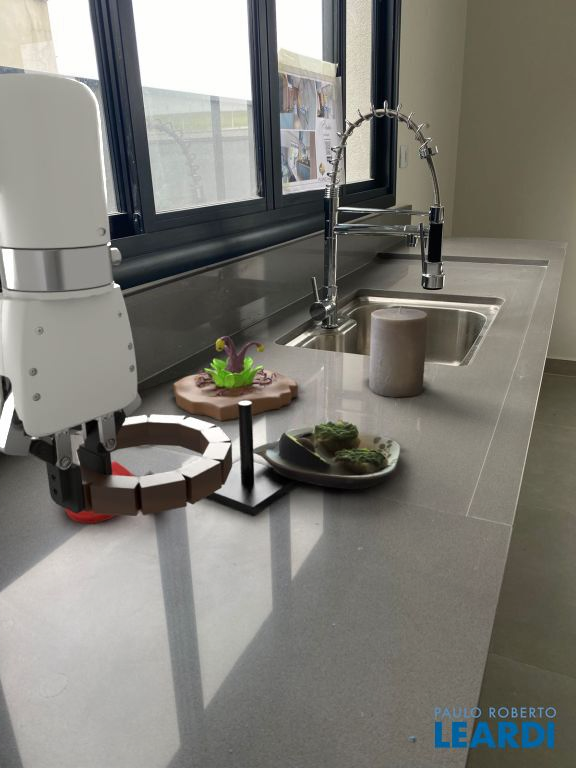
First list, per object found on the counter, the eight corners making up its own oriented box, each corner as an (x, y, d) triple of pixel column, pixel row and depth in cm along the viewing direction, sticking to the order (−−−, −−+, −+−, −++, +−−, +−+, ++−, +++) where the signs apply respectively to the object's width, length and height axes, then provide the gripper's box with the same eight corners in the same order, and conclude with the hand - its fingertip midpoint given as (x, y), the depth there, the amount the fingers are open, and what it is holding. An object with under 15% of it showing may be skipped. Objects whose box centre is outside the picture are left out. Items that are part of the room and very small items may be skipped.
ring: (20, 479, 52) (16, 453, 51) (151, 425, 64) (150, 404, 63) (136, 537, 44) (134, 508, 43) (264, 463, 55) (263, 439, 55)
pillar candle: (433, 388, 108) (439, 305, 103) (403, 402, 102) (408, 314, 97) (388, 376, 115) (392, 298, 110) (357, 389, 108) (359, 306, 103)
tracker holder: (59, 524, 64) (60, 465, 72) (74, 551, 67) (73, 491, 75) (170, 486, 66) (159, 433, 74) (181, 514, 68) (169, 459, 76)
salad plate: (292, 425, 92) (293, 396, 91) (410, 443, 86) (413, 412, 85) (241, 472, 74) (242, 437, 73) (386, 498, 69) (389, 460, 67)
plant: (153, 397, 105) (147, 334, 101) (240, 373, 118) (238, 316, 114) (224, 429, 91) (220, 357, 88) (314, 397, 104) (314, 334, 100)
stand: (195, 494, 72) (189, 406, 69) (243, 466, 79) (240, 385, 76) (253, 516, 67) (250, 423, 64) (299, 485, 74) (299, 399, 71)
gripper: (113, 256, 51) (130, 454, 57) (-86, 279, 39) (-39, 528, 45) (176, 263, 47) (187, 476, 53) (-25, 291, 35) (18, 564, 41)
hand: (83, 498), depth 49 cm, fingers closed on ring, 2 cm apart
